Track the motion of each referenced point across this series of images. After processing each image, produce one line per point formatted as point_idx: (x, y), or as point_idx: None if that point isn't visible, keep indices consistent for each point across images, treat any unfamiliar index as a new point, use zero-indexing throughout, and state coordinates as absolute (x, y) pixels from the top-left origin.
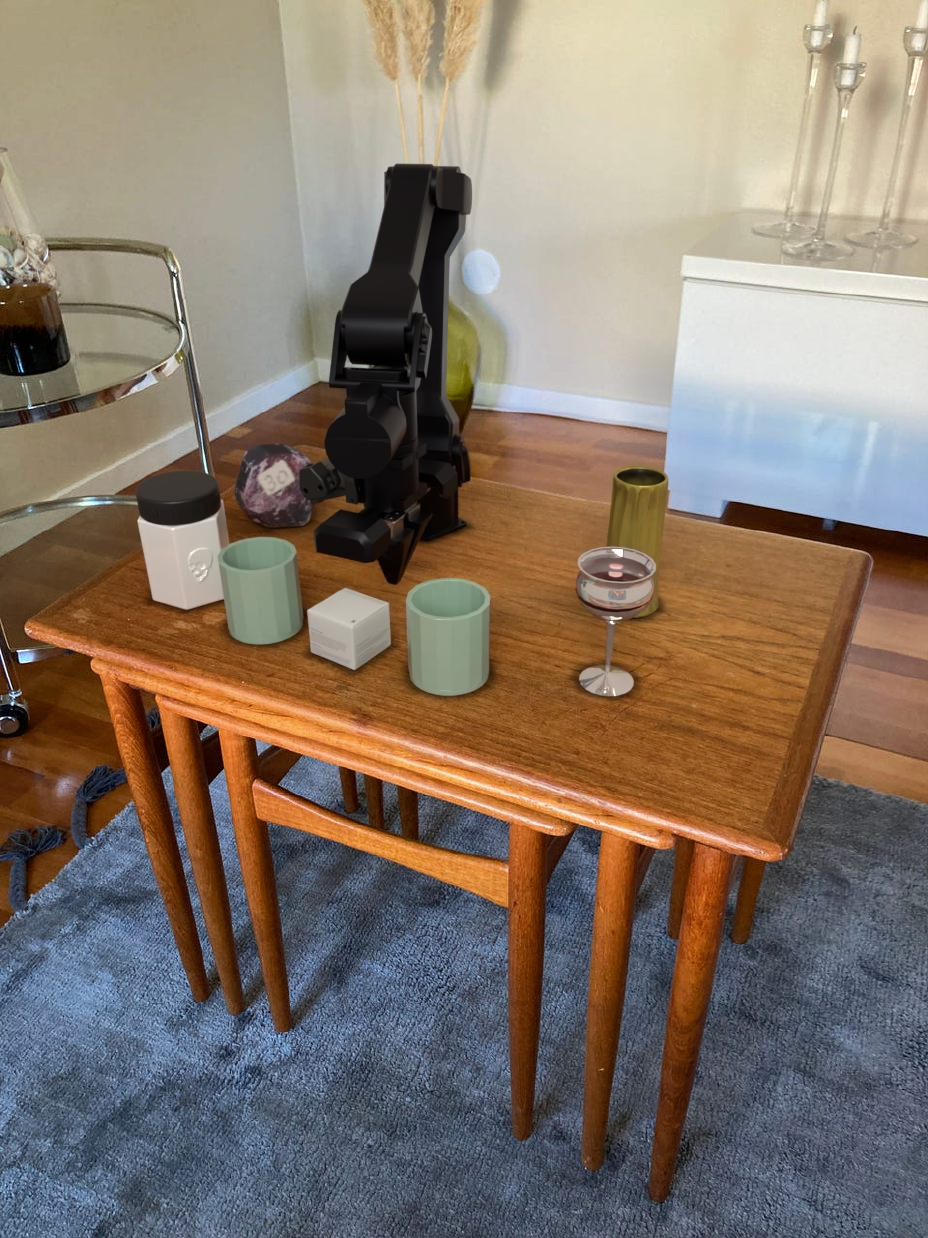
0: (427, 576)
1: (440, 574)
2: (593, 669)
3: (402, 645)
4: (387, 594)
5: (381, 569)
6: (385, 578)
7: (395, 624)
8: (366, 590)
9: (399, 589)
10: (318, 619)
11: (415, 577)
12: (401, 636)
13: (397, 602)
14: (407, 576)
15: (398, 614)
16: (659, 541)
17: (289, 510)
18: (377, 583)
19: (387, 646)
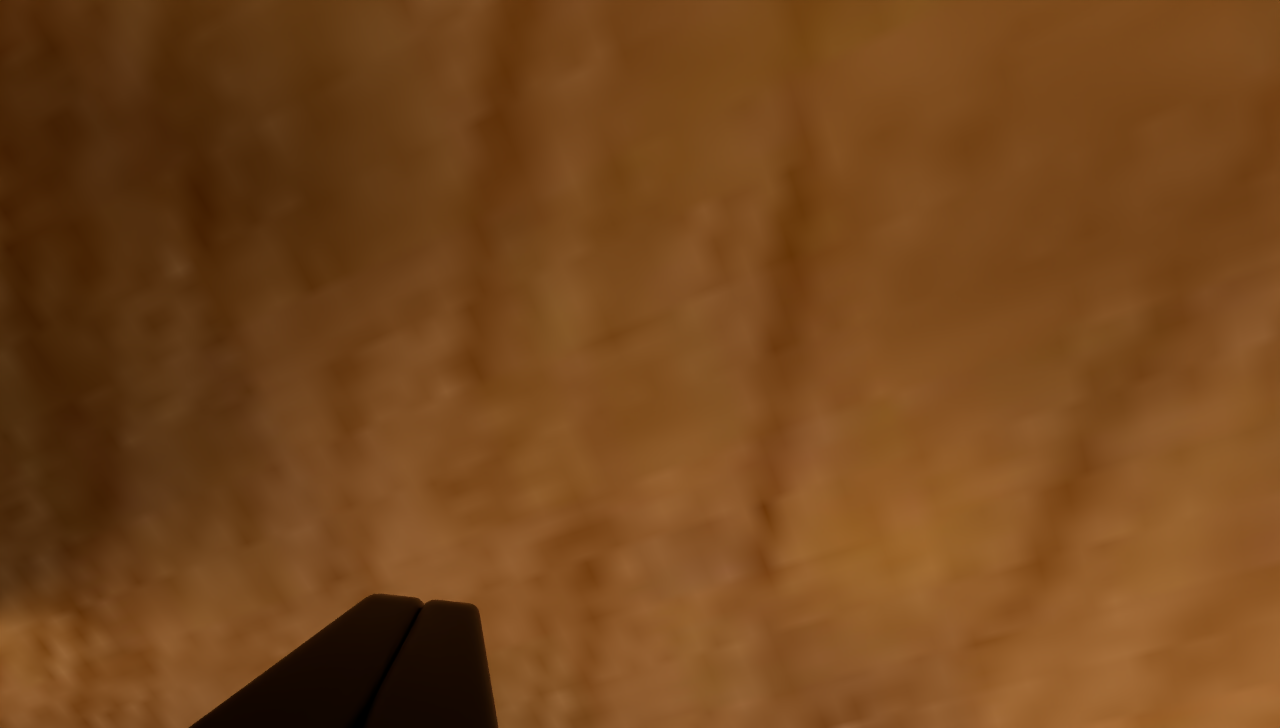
0: (1216, 523)
1: (1276, 616)
2: None
3: (16, 687)
4: (731, 289)
5: (197, 723)
6: (324, 628)
7: (251, 549)
8: (745, 22)
9: (872, 364)
10: None
11: (1175, 424)
12: (118, 645)
13: (611, 437)
14: (1187, 340)
15: (412, 517)
16: None
17: None
18: (949, 78)
19: None
